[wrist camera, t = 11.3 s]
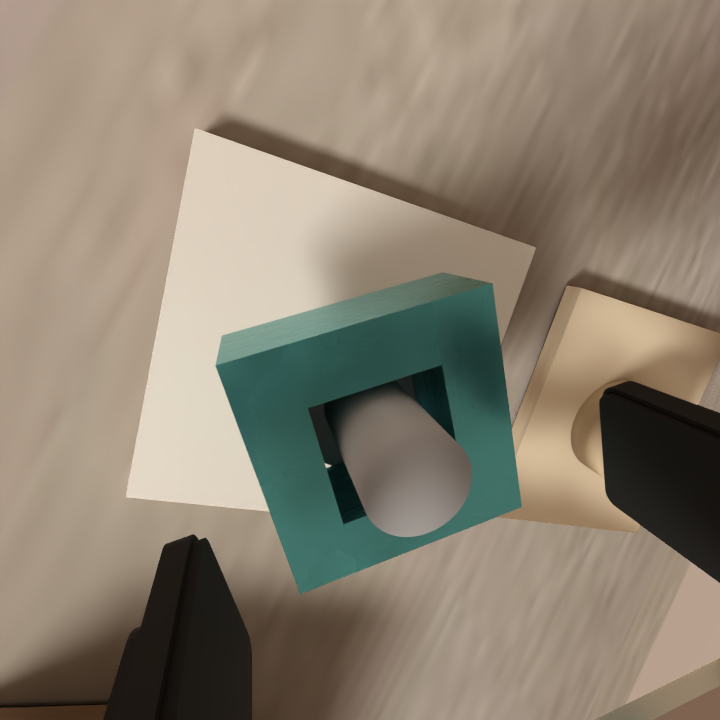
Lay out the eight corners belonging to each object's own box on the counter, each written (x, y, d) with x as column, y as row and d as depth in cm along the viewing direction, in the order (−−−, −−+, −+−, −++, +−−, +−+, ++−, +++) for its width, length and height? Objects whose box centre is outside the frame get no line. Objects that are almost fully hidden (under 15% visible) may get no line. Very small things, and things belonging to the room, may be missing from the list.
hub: (427, 515, 23) (553, 715, 13) (131, 483, 18) (16, 743, 9) (522, 246, 20) (769, 262, 10) (197, 133, 15) (126, -9, 6)
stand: (623, 522, 26) (784, 647, 18) (482, 505, 23) (603, 646, 15) (711, 332, 24) (941, 383, 16) (566, 285, 21) (763, 319, 13)
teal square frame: (474, 458, 16) (521, 507, 13) (289, 525, 15) (300, 593, 12) (442, 272, 14) (492, 283, 11) (221, 335, 13) (215, 365, 10)
